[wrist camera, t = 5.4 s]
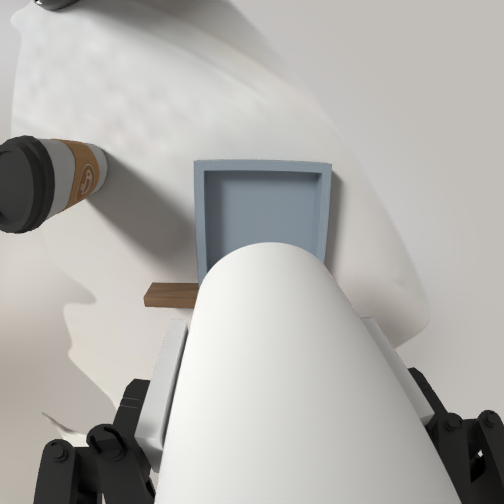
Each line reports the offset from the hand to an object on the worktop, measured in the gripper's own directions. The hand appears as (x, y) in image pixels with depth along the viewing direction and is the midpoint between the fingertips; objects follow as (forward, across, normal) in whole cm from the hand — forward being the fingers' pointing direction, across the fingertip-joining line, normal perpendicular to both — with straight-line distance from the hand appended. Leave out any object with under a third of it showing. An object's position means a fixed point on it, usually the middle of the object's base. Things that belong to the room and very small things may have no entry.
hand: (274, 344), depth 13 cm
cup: (+3, 0, 0) cm, 3 cm away
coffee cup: (+21, -20, +7) cm, 30 cm away
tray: (+21, +1, +1) cm, 21 cm away
